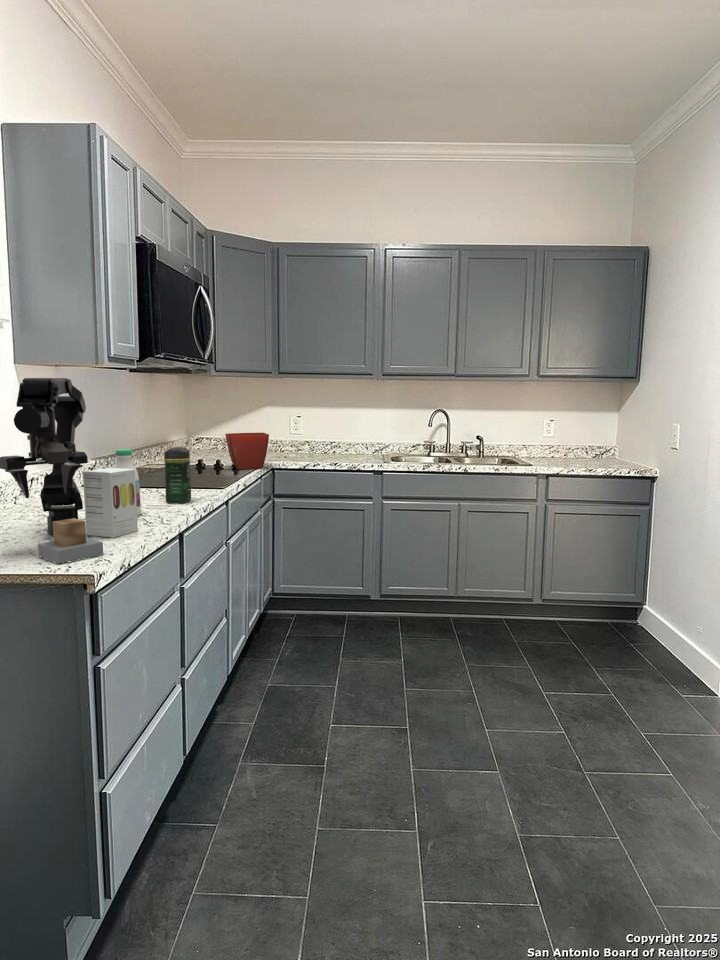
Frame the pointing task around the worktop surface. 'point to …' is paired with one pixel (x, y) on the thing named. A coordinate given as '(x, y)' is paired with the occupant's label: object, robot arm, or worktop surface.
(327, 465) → the worktop surface
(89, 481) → the supplement box
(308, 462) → the worktop surface
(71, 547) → the slate slab
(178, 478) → the coffee jar
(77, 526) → the walnut cube
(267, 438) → the plant pot
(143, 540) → the worktop surface
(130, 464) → the milk bottle
